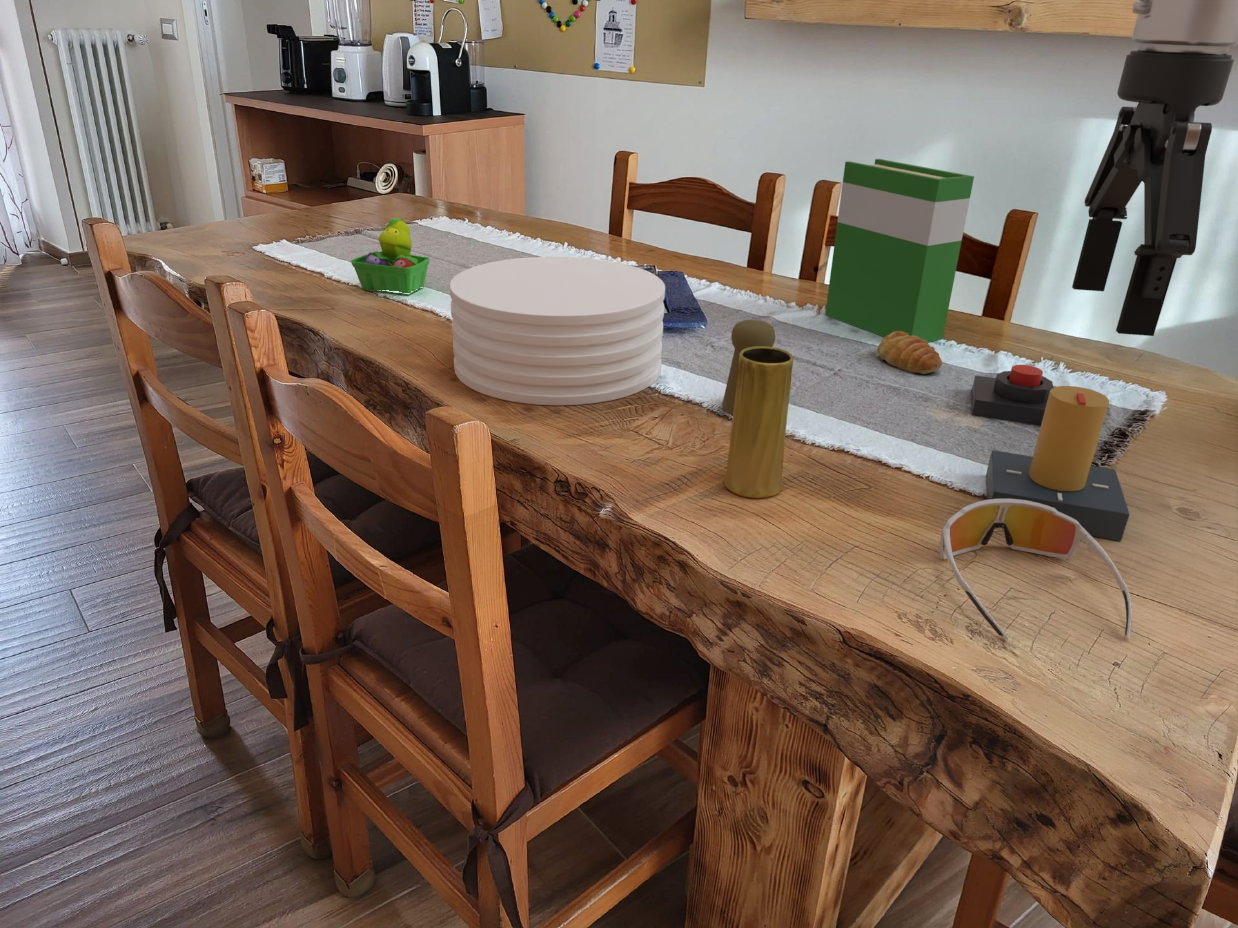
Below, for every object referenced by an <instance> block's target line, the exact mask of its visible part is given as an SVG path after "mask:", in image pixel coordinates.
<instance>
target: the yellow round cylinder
mask: <svg viewBox="0 0 1238 928" xmlns="http://www.w3.org/2000/svg"><path fill="white" fill-rule="evenodd" d="M1109 404H1110V399H1109V398H1108V397H1107V396H1106V395H1105V394H1103V393H1101V392H1099V391H1096V390H1093V389H1090V388H1086V387H1081V386H1076V385H1075V386H1074V385H1059V386H1056V387H1054V388H1052V389H1051V390H1050V393H1049V397H1048V400H1047V404H1046V408H1045V412H1044V416H1043V420H1042V424H1041V426H1040V428H1039V432H1038V435H1037V439H1036V444H1035V448H1034V452H1033V455H1032V457H1033V459H1032V463H1031V467H1030V470H1029V476H1030V478H1031V479H1032V480H1033V481H1034V482H1036V483H1037V484H1039V485H1041V486H1044V487H1046V488H1050V489H1053V490H1058V491H1069V492H1070V491H1078V490H1081V489H1083V488H1084V487H1085V484H1086V480H1087V477H1088V474H1089V470H1090V467H1091V466H1092V463H1093V460H1094V456H1095V452H1096V449H1097V445H1098V443H1099V439H1100V435H1101V432H1102V430H1103V429H1102V428H1103V424H1104V421H1105V419H1106V415H1107V412H1108V407H1109Z"/></svg>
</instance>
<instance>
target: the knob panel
mask: <svg viewBox="0 0 1238 928" xmlns="http://www.w3.org/2000/svg"><path fill="white" fill-rule="evenodd" d="M1032 459H1033V455H1032V456H1031V455H1025V454H1020V453H1019V454H1018V453H1012V452H1007V451H1000V450H995V449H994V450H993V449H992V450H991V452H990V456H989V461H988V465H987V469H986V473H985V478H986V479H985V480H986V482H985V483H986V500H990V499H1019V500H1027V501H1032V502H1036V503H1040V504H1044V505H1047V506H1050V507H1053V508H1055V509H1056V510H1057V511H1058V512H1061V513H1063V514H1065V515H1067V516H1069V517H1071V518H1073V519H1075V520H1077V521H1078V522H1079V524H1080V525H1081V526H1082V527H1083V528H1084V529H1085V530H1086V531H1087V532H1088V533H1089V534H1090V535H1091V536H1092V537H1093V538H1100V539H1107V540H1111V541H1117V542H1122V539H1123V536H1124V533H1125V530H1126V528H1127V524H1128V521H1129V517H1130V512H1129V508H1128V505H1127V502H1126V499H1125V495H1124V491H1123V489H1122V485H1121V482H1120V480H1119V476H1118V473H1117V470H1116V469H1115V468H1109V467H1103V466H1102V467H1101V466H1096V465H1091V467H1090V470H1089V474H1088V477H1087V480H1086V484H1085V487H1084V488H1083V489H1081V490H1078V491H1070V492H1069V491H1058V490H1053V489H1050V488H1046V487H1044V486H1041V485H1039V484H1037V483H1036V482H1034V481H1033V480H1032V479H1031V478H1030V476H1029V470H1030V467H1031V463H1032Z"/></svg>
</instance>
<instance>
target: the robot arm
mask: <svg viewBox="0 0 1238 928" xmlns="http://www.w3.org/2000/svg"><path fill="white" fill-rule="evenodd" d="M1131 11H1132V13H1133V14H1136V15H1137V17H1136V20H1135V24H1134V27H1133V32H1132V36H1131V40H1132V42H1133V43H1138V46H1137V49H1136V50H1130V52H1129V54H1126V56H1125V60H1124V63H1123V64H1124V65H1123V69H1122V73H1121V76H1120V79H1119V80H1120V81H1119V85H1118V88H1117V97H1118V98H1119V99H1121V100H1122V101H1126V102H1130V103H1131V102H1132V103H1137V104H1136V106H1121V108H1120V109H1119V111H1118V114H1117V115H1118V116H1117V119H1116V123H1115V126H1114V130H1113V133H1112V135H1111V137H1110V140H1109V142H1108V144H1107V146H1106V149H1105V151H1104V153H1103V155H1102V159H1101V160H1100V163H1099V165H1098V168H1097V170H1096V173H1095V175H1094V177H1093V180H1092V182H1091V184H1090V187H1089V189H1088V192H1087V193H1086V196H1085V198H1084V206H1085V207H1086V208H1087V207H1088V212H1087V213H1088V217H1089V219H1088V223H1087V227H1086V230H1085V235H1084V238H1083V242H1082V246H1081V250H1080V255H1079V258H1078V262H1077V265H1076V269H1075V273H1074V276H1073V277H1074V278H1073V280H1072V281H1073V282H1072V286H1071V288H1072V290H1077V291H1092V292H1105V288H1106V286H1107V282H1108V278H1109V274H1110V270H1111V267H1112V264H1113V260H1114V255H1115V251H1116V248H1117V245H1118V242H1119V237H1120V234H1121V230H1122V226H1123V222H1122V221H1121V220H1127V219H1128V211H1127V205H1128V204H1129V202H1130V201H1131V199H1132V197H1133V196H1134V194H1135V193H1136V191H1137V190H1138V188H1139V187H1140V185H1141V183H1143V186H1144V187H1143V188H1144V190H1143V192H1144V193H1143V195H1144V197H1143V198H1144V200H1143V201H1144V203H1143V206H1144V207H1143V208H1144V209H1143V210H1144V211H1143V213H1144V214H1143V216H1144V217H1143V218H1144V220H1143V222H1144V224H1143V225H1144V231H1143V233H1144V234H1143V235H1144V239H1143V240H1144V241H1143V242H1144V243H1141V244H1140V245H1138V247H1137V248H1135V250H1134V256H1136V258H1135V261H1134V265H1133V269H1132V272H1131V276H1130V279H1129V284H1128V286H1127V290H1126V293H1125V297H1124V300H1123V304H1122V307H1121V311H1120V313H1119V318H1118V322H1117V325H1116V329H1115V332H1116V333H1118V334H1121V335H1132V336H1133V335H1134V336H1146V337H1154V336H1155V333H1156V330H1157V325H1158V323H1159V319H1160V316H1161V313H1162V310H1163V306H1164V303H1165V300H1166V296H1167V293H1168V289H1169V286H1170V284H1171V280H1172V276H1173V273H1174V269H1175V266H1176V263H1177V260H1178V259H1181V258H1182V256H1192V255H1193V254H1194V253H1195V251H1196V248H1197V242H1198V241H1197V240H1198V239H1197V238H1198V230H1199V222H1200V221H1199V220H1200V210H1201V201H1202V192H1203V182H1204V173H1205V164H1206V155H1207V151H1208V146H1209V143H1210V138H1211V135H1212V132H1213V124H1212V123H1211V122H1198V121H1195V115H1196V114H1195V112H1196V110H1197V108H1199V107H1211V106H1215V105H1218V104H1219V103H1221V101H1222V100H1223V98H1224V95H1225V91H1226V88H1227V85H1228V82H1229V79H1230V75H1231V72H1232V68H1233V64H1234V62H1235V59H1233V55H1232V54H1229V51H1230V47H1236V46H1238V0H1135V2H1134V3H1133V4H1132V10H1131Z"/></svg>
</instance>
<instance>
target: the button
mask: <svg viewBox="0 0 1238 928" xmlns="http://www.w3.org/2000/svg"><path fill="white" fill-rule="evenodd" d="M1010 371H1011V373H1010V377H1009V381H1011V382H1012V383H1015V384H1019V385H1023V386H1040V382H1041V378H1042V376H1043V373H1044V372H1043V370H1042V369H1041V368H1039V367H1037V366H1033V365H1028V364H1013V365H1012V366H1011V369H1010Z"/></svg>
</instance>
